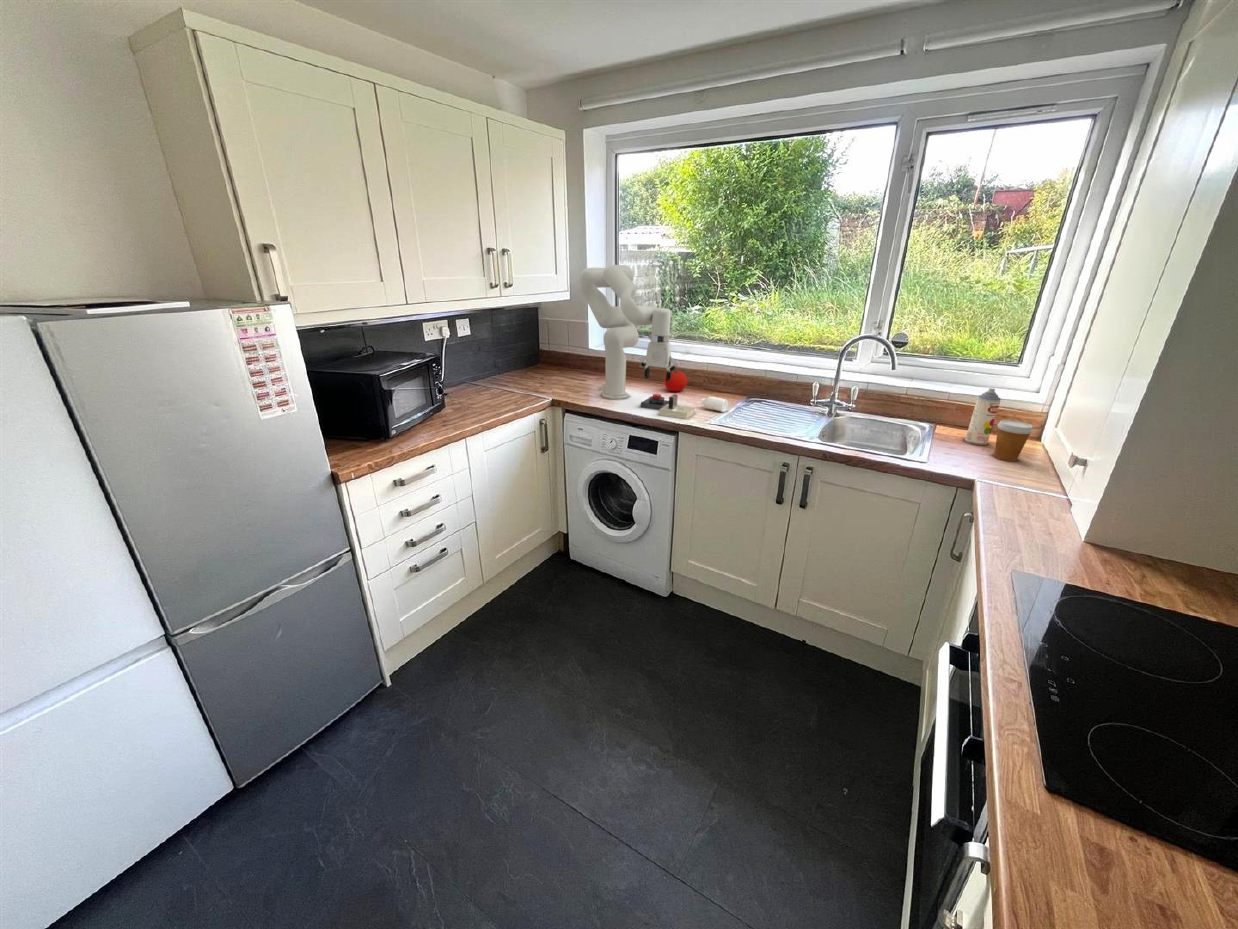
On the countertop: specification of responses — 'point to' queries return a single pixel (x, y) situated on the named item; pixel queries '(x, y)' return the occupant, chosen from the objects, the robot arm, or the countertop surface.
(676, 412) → the cream flat block
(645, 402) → the block
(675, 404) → the black rectangular block
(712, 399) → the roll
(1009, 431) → the disposable coffee cup
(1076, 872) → the countertop surface
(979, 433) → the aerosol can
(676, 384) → the tomato
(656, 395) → the button
